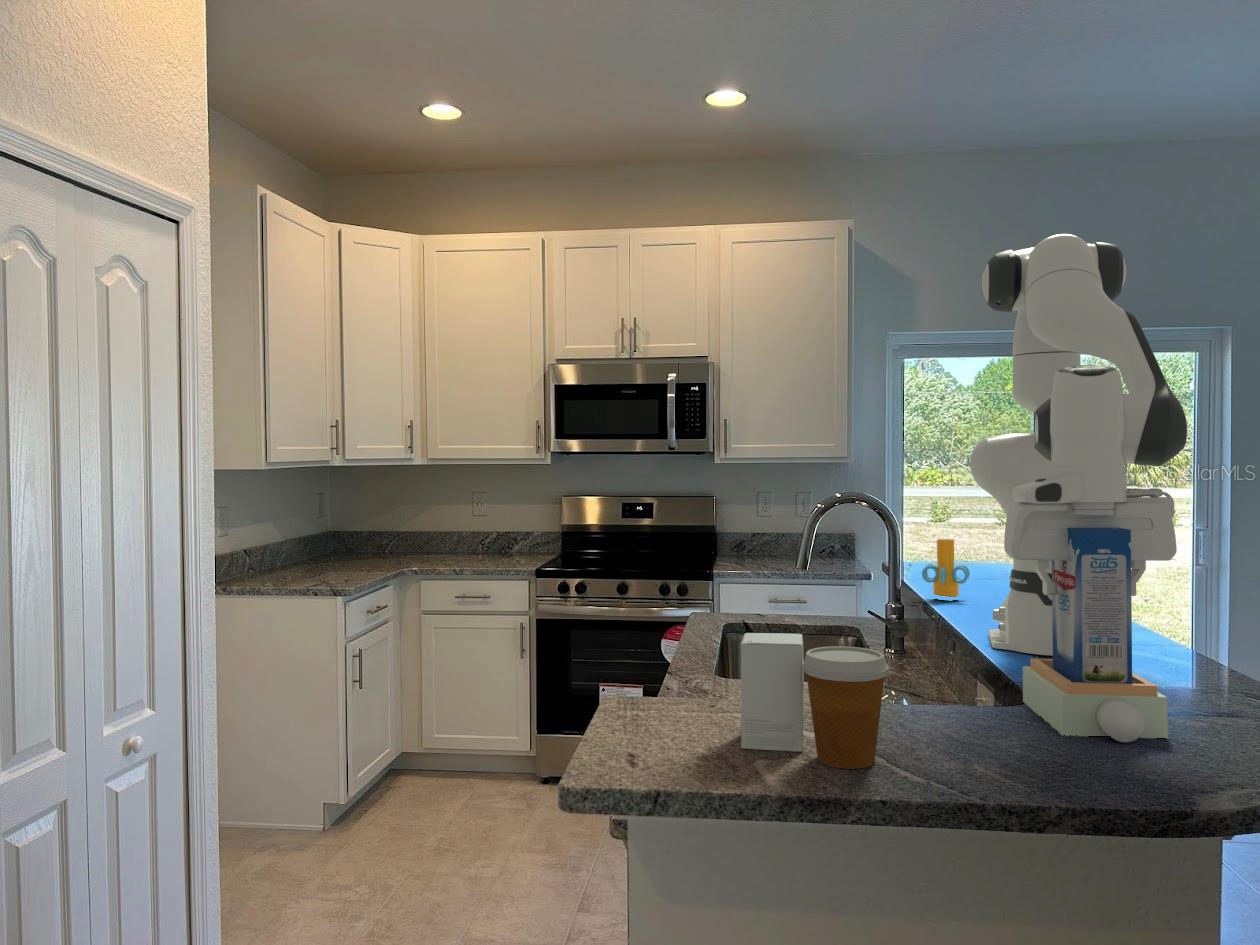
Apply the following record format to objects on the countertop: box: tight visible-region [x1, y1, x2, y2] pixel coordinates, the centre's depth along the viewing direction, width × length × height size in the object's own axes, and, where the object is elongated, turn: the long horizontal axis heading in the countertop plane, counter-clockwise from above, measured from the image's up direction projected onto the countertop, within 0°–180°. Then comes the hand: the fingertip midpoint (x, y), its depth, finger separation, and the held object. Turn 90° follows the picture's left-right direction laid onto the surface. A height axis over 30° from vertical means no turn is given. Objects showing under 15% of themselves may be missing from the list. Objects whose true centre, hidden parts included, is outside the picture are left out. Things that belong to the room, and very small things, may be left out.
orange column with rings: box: [921, 538, 971, 597], centre depth 221 cm, size 12×10×15 cm
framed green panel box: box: [1022, 658, 1169, 743], centre depth 114 cm, size 19×12×6 cm, turn 172°
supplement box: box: [740, 632, 805, 753], centre depth 107 cm, size 7×7×13 cm
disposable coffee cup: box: [802, 645, 890, 770], centre depth 100 cm, size 10×10×12 cm
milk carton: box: [1052, 528, 1133, 684], centre depth 115 cm, size 10×6×20 cm, turn 172°
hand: (1088, 595), depth 116 cm, fingers open, 8 cm apart
